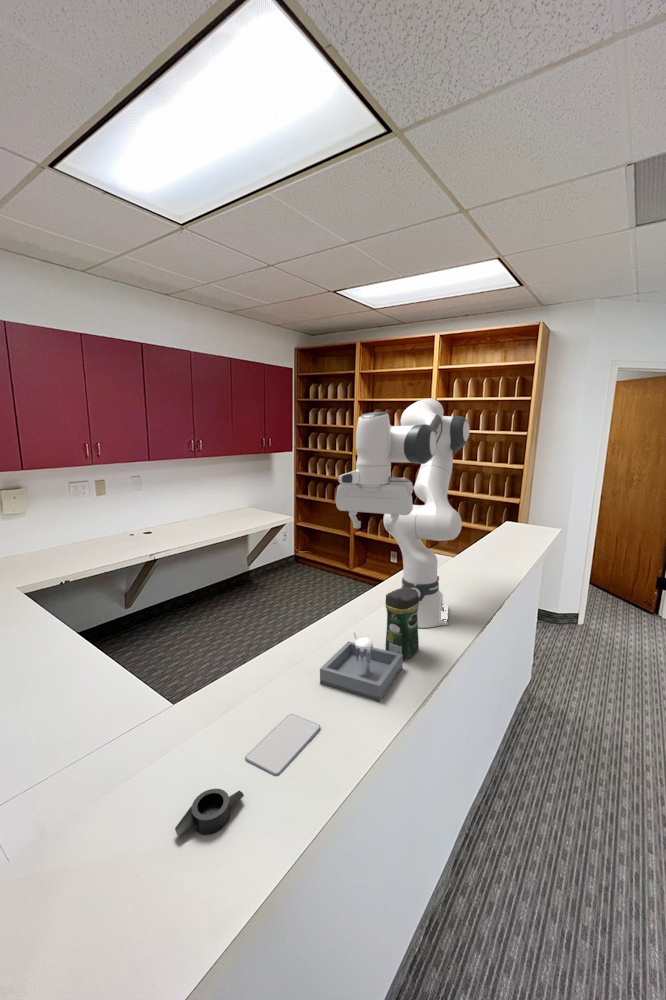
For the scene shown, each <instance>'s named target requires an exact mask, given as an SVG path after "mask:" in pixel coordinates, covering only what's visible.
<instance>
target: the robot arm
mask: <svg viewBox="0 0 666 1000" xmlns="http://www.w3.org/2000/svg"><path fill="white" fill-rule="evenodd" d="M444 412H445V411H444V407H443V405H442V404H441V403H440V402H439V401H438V400H437V399H434V398H425V399H420V400H418V401H415V402H414V403H412V404H411V405H409V406H408V407H406V409H404V411H402V414H401V417H400V425H391V423H390V416H389V413H388V412H384V411H374V412H373V411H372V412H366V413H363V414H361V415H360V416H359V417H358V419H357V423H356V424H357V425H356V436H355V450H356V452H357V458H356V459H357V460H356V463H355V470H352V471H349V472H346V473H343V474H340V475H339V476H338V483H339V485H338V486H337V489H336V496H335V505H336V509H338V510H339V511H343V512H348V516H349V518H350V520H351V521H352V528H353V529H357V530H358V529H360V528H361V526H362V525H361V523H362V522H361V520H358V518H357V516H356V515H358V513H370V514H380V515H381V514H382V515H383V527H384V529H385V531H386V532H388V534H389V535H391V536H392V537H393V539H394V540H395V541H396V543H397V545H398V546H399V549H400V551H401V556H402V565H403V568H402V570H403V571H402V572H403V573H402V574H403V577H401V578H402V579H401V588H403V587H408V588H411V589H415V590H416V591H417V593H418V597H419V606H418V615H417V618H418V629H419V628H423V629H426V628H427V629H428V628H433V627H438V626H448V624H449V621H448V622H447V621H444V620H446V619H442V620H441V611H443V612H444V607H442V606H443V605H444V604H445V603H444V602H443V601H444V600H443V599H444V597H443V592H441V591H440V583H439V581H440V576H439V575H438V564H439V563H438V557H437V555H436V554H435V552H433V551H432V550H431V549H429V548H428V547H426V546H425V545H424V542H423V540H429V541H438V542H440V541H441V542H442V541H454V540H455V539H456V538H457V537H458V536H459V535H460V533H461V530H462V527H463V524H462V523H463V522H462V518H461V516H460V513H459V512H458V511H457V510H456V509H455V508H453V506H452V505H451V504H450V503H449V499H448V490H449V485H450V481H451V478H452V477H451V476H452V472H453V465H454V463H453V461H454V458H453V457H454V456H453V453H454V454H456V453H458V452H459V451H460V449H462V448H463V447H464V446H465V445H466V444H467V442H468V439H469V437H470V430H471V429H470V425H469V422H468V421H469V420H467V418H466V417H464V416H459V415H453V416H450V415H448V416H447V415H444ZM392 463H412V464H418V465H419V464H420V467H419V470H418V473H417V477H416V480H415V483H414V485H413V482H412V481H411V480H410V479H408V478H407V477H403V476H402V477H398V476H397V477H396V476H392V472H391V471H392V470H391V469H392ZM413 492H414V493H415V496H416V497H417V498H418V499H419V500H420V501H422V502H423V503H425V504H421V505H420V504H413V496H412V494H413ZM445 611H446V610H445ZM449 611H450V609H449V610H448V616H449V613H450V612H449ZM445 622H446V623H445Z"/></svg>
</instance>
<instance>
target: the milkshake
mask: <svg viewBox="0 0 666 1000" xmlns="http://www.w3.org/2000/svg"><path fill="white" fill-rule="evenodd" d="M353 635H354V638H355V641H354V643H355V648H356V658H357V671H358V674H359V675H361V676H368V675H370V673H371V660H372V649H373V647H374V646H373V645H374V643H373V640H372V639H371V638H369V637H367V636H366V637H359V638H358V639H357V635H356V632H353Z"/></svg>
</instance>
